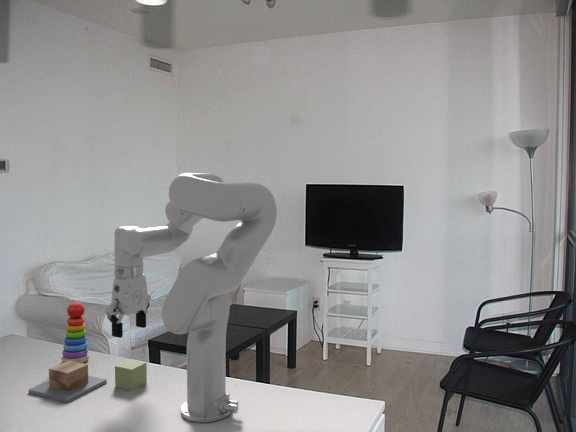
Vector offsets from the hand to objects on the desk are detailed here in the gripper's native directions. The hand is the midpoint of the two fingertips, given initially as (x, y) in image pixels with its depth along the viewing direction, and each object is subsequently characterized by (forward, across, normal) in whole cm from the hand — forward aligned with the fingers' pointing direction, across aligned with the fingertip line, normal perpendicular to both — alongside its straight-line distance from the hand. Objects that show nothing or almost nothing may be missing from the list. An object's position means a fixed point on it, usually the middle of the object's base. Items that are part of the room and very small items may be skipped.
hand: (129, 331), depth 144 cm
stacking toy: (+16, +7, +28) cm, 32 cm away
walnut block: (+14, -9, +13) cm, 22 cm away
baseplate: (+15, -9, +14) cm, 22 cm away
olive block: (+15, 0, 0) cm, 15 cm away
